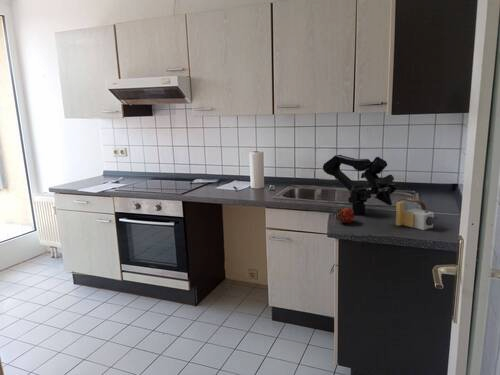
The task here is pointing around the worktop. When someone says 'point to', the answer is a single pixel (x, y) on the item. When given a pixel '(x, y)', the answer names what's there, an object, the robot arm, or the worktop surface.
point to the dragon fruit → (345, 215)
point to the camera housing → (422, 218)
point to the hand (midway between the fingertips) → (390, 205)
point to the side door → (403, 216)
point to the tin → (412, 204)
